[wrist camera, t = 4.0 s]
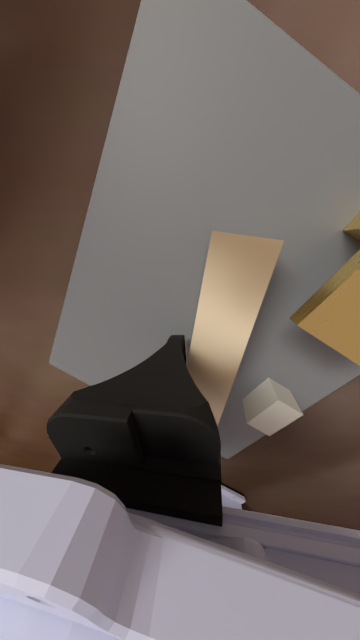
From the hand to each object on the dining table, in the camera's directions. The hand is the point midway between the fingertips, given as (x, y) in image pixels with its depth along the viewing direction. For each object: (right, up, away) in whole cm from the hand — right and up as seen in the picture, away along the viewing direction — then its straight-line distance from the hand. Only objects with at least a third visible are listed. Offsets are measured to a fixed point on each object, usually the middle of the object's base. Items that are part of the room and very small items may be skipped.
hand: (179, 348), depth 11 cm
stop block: (+7, -4, +3) cm, 8 cm away
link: (+2, -1, +1) cm, 3 cm away
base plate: (+2, +2, +1) cm, 3 cm away
